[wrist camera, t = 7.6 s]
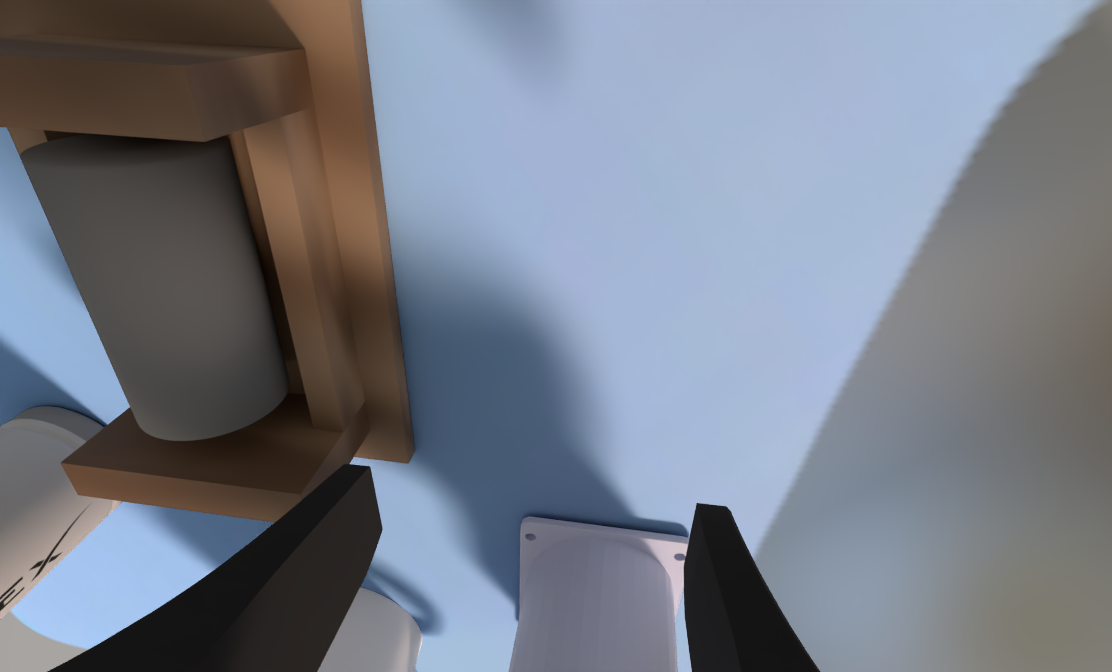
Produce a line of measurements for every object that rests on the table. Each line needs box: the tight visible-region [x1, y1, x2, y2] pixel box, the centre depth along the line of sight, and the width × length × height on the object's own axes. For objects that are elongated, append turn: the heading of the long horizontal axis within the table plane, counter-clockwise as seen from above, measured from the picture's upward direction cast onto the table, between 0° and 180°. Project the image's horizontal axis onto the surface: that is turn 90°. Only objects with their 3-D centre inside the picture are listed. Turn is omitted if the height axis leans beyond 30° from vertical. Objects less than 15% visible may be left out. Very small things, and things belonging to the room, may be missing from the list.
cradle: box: [0, 0, 415, 522], centre depth 19 cm, size 18×12×6 cm, turn 178°
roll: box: [20, 134, 290, 441], centre depth 19 cm, size 9×5×5 cm, turn 178°
